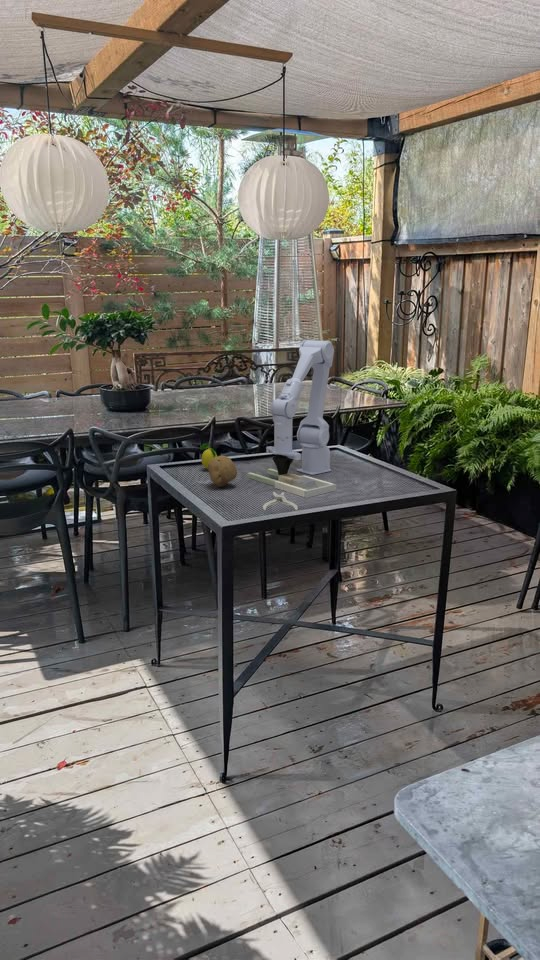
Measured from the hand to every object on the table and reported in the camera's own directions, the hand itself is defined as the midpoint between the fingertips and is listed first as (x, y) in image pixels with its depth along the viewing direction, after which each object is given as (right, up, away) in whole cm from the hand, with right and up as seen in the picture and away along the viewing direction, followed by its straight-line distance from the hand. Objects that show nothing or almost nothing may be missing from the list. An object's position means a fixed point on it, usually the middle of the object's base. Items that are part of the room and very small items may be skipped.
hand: (283, 478), depth 225 cm
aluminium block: (+6, -4, -7) cm, 10 cm away
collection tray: (+6, -3, -7) cm, 10 cm away
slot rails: (-3, 0, +4) cm, 5 cm away
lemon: (-25, +3, +16) cm, 30 cm away
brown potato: (-19, -3, -5) cm, 20 cm away
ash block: (+2, -2, -3) cm, 4 cm away
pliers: (-1, -8, -22) cm, 23 cm away
